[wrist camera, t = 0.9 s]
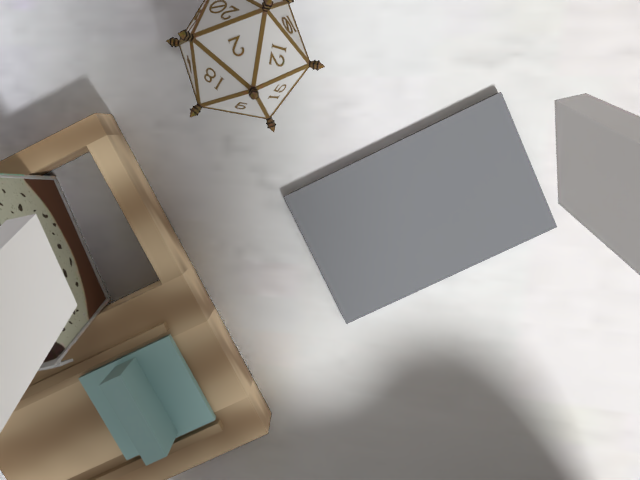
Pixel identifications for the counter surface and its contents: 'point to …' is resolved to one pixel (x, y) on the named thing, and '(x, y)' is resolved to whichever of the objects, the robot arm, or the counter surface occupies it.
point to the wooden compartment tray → (128, 340)
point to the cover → (148, 399)
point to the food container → (57, 251)
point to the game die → (243, 56)
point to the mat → (422, 209)
